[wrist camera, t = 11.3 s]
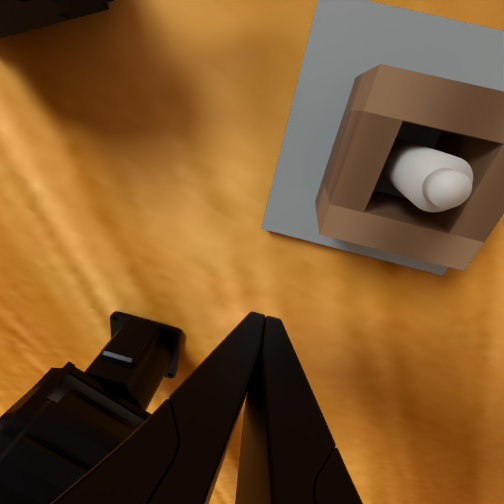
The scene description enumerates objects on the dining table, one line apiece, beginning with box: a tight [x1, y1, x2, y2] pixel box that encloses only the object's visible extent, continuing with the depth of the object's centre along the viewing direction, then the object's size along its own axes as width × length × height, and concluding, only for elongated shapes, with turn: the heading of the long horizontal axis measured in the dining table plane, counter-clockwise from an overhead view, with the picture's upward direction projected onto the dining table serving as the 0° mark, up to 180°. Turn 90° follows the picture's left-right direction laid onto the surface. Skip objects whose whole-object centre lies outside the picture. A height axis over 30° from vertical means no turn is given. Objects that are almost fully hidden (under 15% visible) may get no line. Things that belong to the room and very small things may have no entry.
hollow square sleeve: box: [315, 64, 504, 271], centre depth 13 cm, size 6×6×5 cm
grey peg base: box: [261, 0, 504, 276], centre depth 13 cm, size 12×12×8 cm
